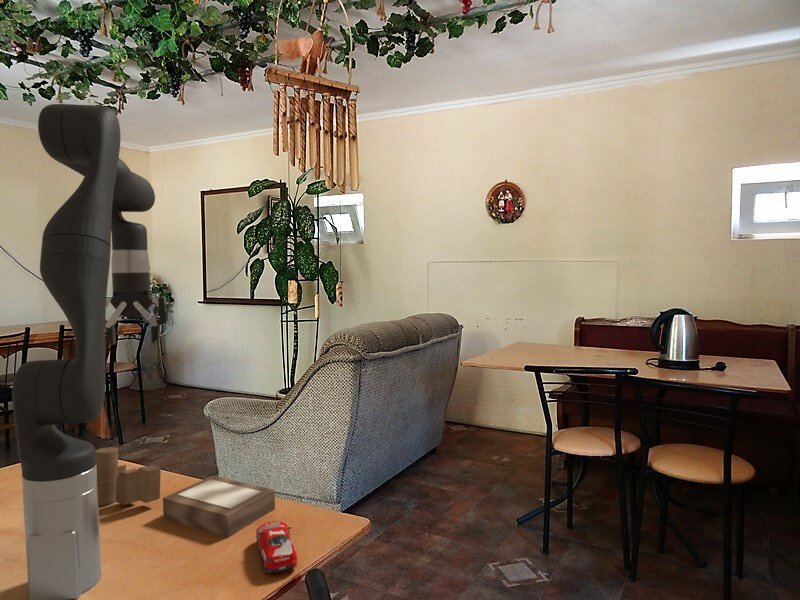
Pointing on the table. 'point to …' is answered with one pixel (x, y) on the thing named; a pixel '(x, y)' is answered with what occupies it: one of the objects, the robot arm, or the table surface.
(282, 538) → the race car
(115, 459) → the wooden block set
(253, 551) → the table surface
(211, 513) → the picture frame
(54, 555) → the robot arm
